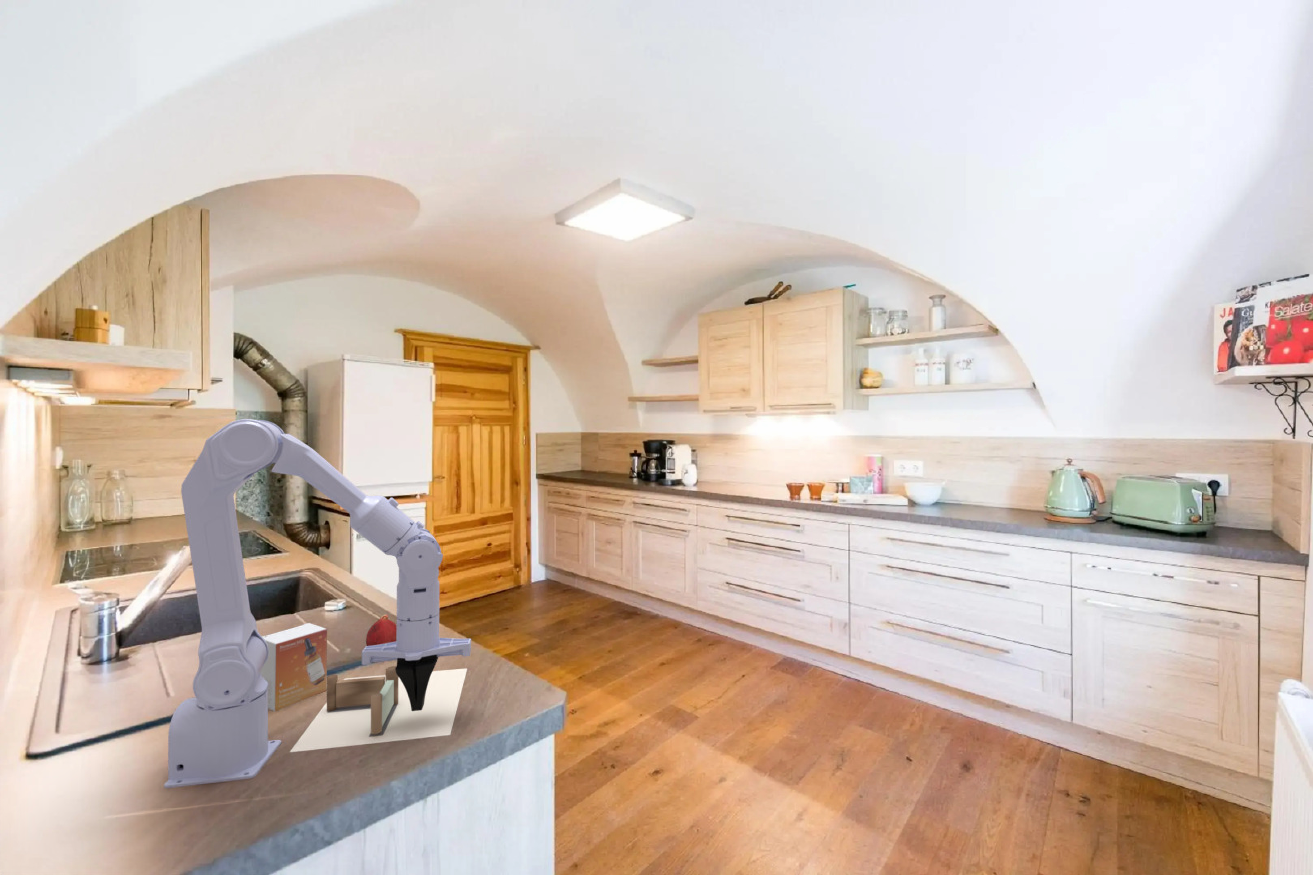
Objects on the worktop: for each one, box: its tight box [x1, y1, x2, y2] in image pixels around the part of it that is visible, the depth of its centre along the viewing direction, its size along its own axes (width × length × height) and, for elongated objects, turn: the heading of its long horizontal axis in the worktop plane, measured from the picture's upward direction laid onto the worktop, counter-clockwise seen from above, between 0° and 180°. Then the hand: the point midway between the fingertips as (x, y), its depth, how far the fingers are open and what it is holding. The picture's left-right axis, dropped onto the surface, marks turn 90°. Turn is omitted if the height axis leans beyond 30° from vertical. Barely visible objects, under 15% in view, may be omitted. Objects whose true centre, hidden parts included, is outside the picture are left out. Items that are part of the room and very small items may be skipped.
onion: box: [365, 614, 397, 647], centre depth 104 cm, size 6×6×8 cm
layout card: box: [289, 667, 468, 753], centre depth 85 cm, size 20×22×1 cm
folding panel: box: [371, 680, 394, 734], centre depth 80 cm, size 8×1×5 cm, turn 13°
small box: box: [260, 622, 328, 712], centre depth 88 cm, size 8×6×10 cm
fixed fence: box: [326, 665, 398, 712], centre depth 84 cm, size 10×2×6 cm, turn 103°
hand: (417, 707), depth 80 cm, fingers closed
